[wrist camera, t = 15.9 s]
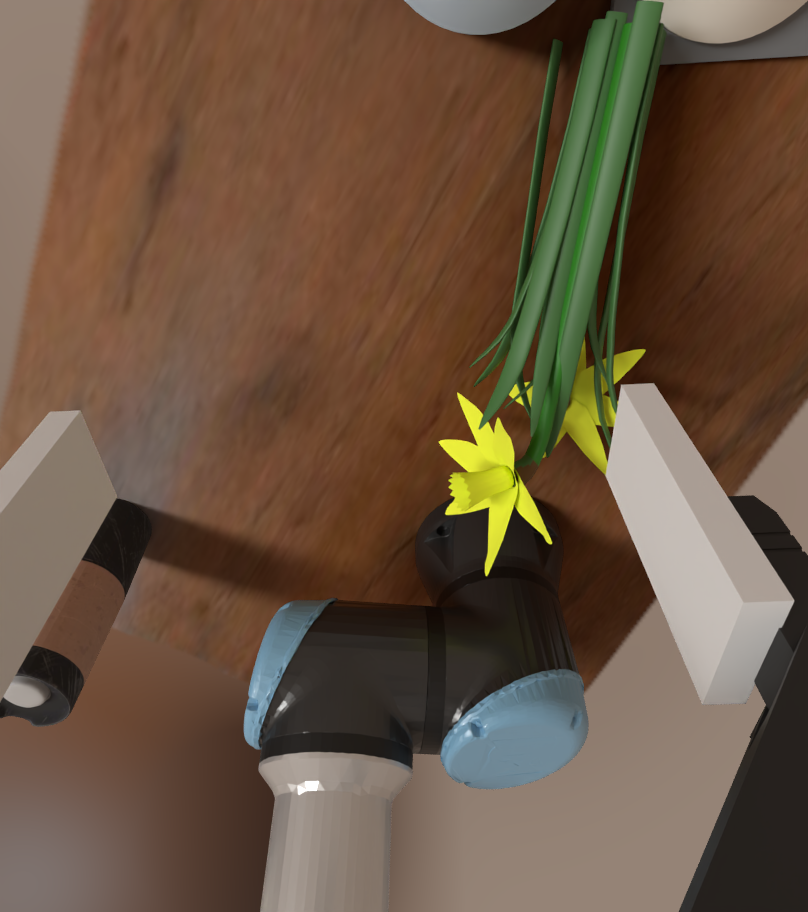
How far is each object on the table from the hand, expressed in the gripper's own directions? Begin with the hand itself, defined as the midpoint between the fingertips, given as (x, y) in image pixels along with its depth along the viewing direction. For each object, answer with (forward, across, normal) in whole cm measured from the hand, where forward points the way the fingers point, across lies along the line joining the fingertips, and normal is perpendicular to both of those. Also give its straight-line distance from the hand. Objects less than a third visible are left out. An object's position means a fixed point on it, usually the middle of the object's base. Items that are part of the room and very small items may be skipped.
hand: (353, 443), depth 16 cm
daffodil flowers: (+34, -11, +8) cm, 37 cm away
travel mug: (+35, +30, +33) cm, 57 cm away
